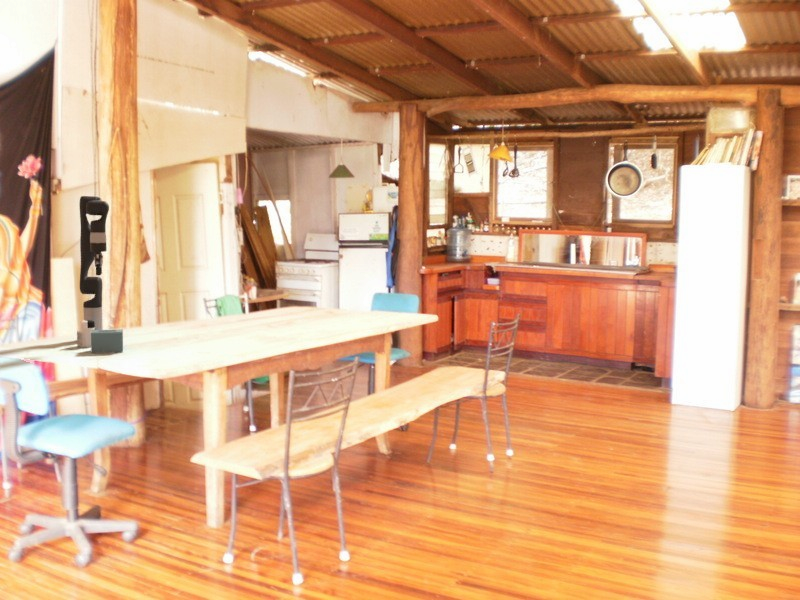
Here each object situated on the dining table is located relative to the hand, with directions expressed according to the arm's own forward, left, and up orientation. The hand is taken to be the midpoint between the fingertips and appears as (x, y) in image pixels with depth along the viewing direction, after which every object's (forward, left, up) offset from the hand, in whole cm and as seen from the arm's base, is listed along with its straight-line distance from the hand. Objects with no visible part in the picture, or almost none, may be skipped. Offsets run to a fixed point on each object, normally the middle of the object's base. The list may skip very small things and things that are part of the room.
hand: (98, 274), depth 405 cm
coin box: (+14, +4, -36) cm, 39 cm away
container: (-5, -6, -36) cm, 37 cm away
